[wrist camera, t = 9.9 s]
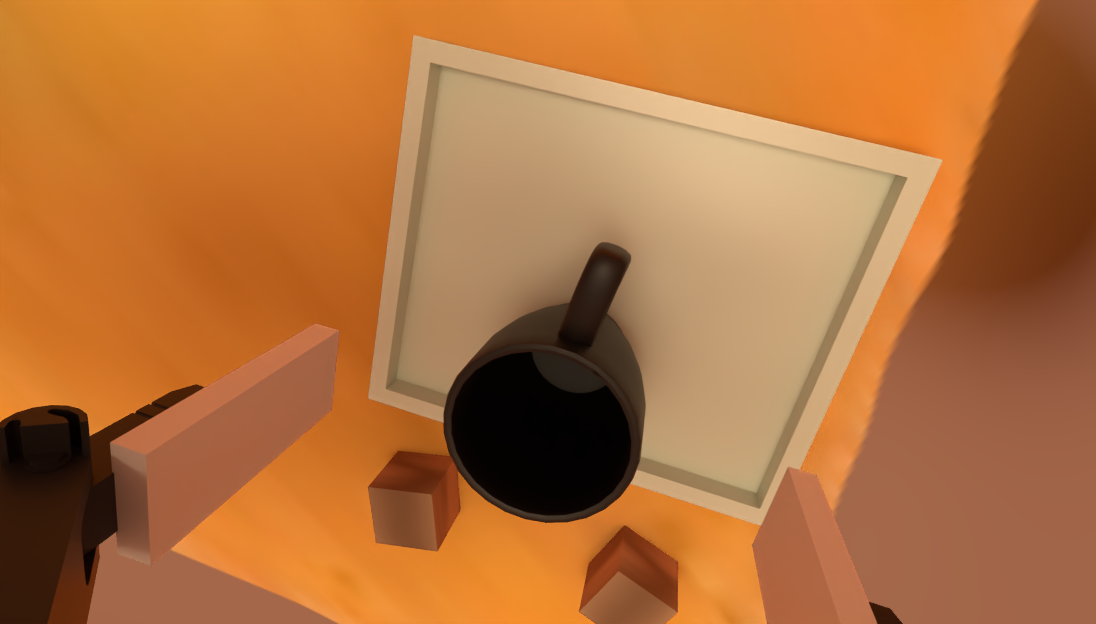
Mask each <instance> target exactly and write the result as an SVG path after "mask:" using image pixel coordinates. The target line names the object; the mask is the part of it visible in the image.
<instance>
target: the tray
mask: <svg viewBox="0 0 1096 624" xmlns="http://www.w3.org/2000/svg"><path fill="white" fill-rule="evenodd" d="M942 161H943V160H942V159H938V158H933V157H929V156H925V155H921V154H916V153H912V152H908V151H904V150H899V149H895V148H891V147H887V146H882V145H878V144H874V143H870V142H865V141H861V140H857V139H853V138H848V137H844V136H840V135H836V134H832V133H827V132H823V131H819V130H815V129H810V128H806V127H802V126H798V125H793V124H789V123H785V122H781V121H776V120H772V119H768V118H764V117H759V116H755V115H751V114H747V113H742V112H738V111H734V110H730V109H725V108H721V107H717V106H713V105H708V104H704V103H700V102H696V101H691V100H687V99H683V98H679V97H674V96H670V95H666V94H662V93H657V92H653V91H649V90H645V89H640V88H636V87H632V86H628V85H623V84H619V83H615V82H611V81H607V80H602V79H598V78H594V77H590V76H585V75H581V74H577V73H573V72H568V71H564V70H560V69H556V68H551V67H547V66H543V65H539V64H534V63H530V62H526V61H522V60H517V59H513V58H509V57H505V56H500V55H496V54H492V53H488V52H483V51H479V50H475V49H471V48H466V47H462V46H458V45H454V44H449V43H445V42H441V41H437V40H432V39H428V38H424V37H420V36H415V35H414V36H413V44H412V52H411V60H410V68H409V76H408V84H407V92H406V100H405V108H404V116H403V124H402V132H401V140H400V148H399V156H398V164H397V172H396V179H395V187H394V195H393V203H392V211H391V219H390V227H389V235H388V243H387V251H386V259H385V267H384V275H383V283H382V291H381V299H380V307H379V315H378V323H377V331H376V339H375V347H374V355H373V363H372V371H371V379H370V387H369V395H368V399H371V400H374V401H377V402H380V403H383V404H386V405H389V406H393V407H396V408H399V409H402V410H405V411H408V412H411V413H414V414H417V415H420V416H423V417H426V418H430V419H433V420H436V421H439V422H442V423H444V420H443V413H444V408H445V403H446V399H447V394H448V392H449V390H450V388H451V386H452V384H453V382H454V380H455V378H456V376H457V375H458V374H459V373H460V372H461V370H462V369H463V368H464V367H465V366H466V365H467V363H468V362H469V361H470V360H471V359H472V358H473V357H474V355H475V354H476V353H477V352H478V351H479V350H480V349H481V348H482V347H483V346H484V344H485V343H486V342H487V341H488V340H489V339H490V338H491V337H492V336H493V335H494V334H495V333H497V332H498V331H500V330H501V329H502V328H504V327H505V326H507V325H508V324H510V323H511V322H513V321H514V320H516V319H518V318H520V317H522V316H524V315H526V314H528V313H531V312H534V311H537V310H540V309H542V308H545V307H549V306H556V305H560V304H565V303H570V300H571V298H572V295H573V293H574V291H575V288H576V286H577V284H578V281H579V279H580V277H581V274H582V272H583V270H584V268H585V265H586V263H587V261H588V259H589V257H590V255H591V253H592V252H593V250H594V248H595V247H596V246H597V245H598V244H599V243H601V242H609V243H612V244H615V245H618V246H620V247H622V248H623V249H625V250H626V251H627V252H628V253H629V254H630V255H631V262H630V265H629V267H628V269H627V271H626V273H625V275H624V277H623V279H622V282H621V284H620V286H619V288H618V290H617V292H616V294H615V297H614V299H613V301H612V303H611V305H610V308H609V310H608V312H607V314H608V315H609V316H610V317H611V318H612V319H613V320H614V321H615V322H616V323H617V325H618V326H619V327H620V329H621V330H622V333H623V335H624V336H625V337H626V339H627V340H628V342H629V343H630V345H631V348H632V350H633V352H634V355H635V357H636V360H637V362H638V364H639V367H640V371H641V374H642V380H643V387H644V394H645V402H646V409H645V421H644V431H643V440H642V449H641V458H640V463H639V465H638V468H637V470H636V473H635V476H634V478H633V480H632V481H631V483H630V484H633V485H636V486H639V487H642V488H645V489H648V490H652V491H655V492H658V493H661V494H664V495H667V496H670V497H673V498H676V499H679V500H682V501H686V502H689V503H692V504H695V505H698V506H701V507H704V508H707V509H710V510H713V511H716V512H719V513H723V514H726V515H729V516H732V517H735V518H738V519H741V520H744V521H747V522H750V523H753V524H756V525H760V526H761V525H762V523H763V520H764V518H765V516H766V514H767V512H768V509H769V507H770V505H771V503H772V501H773V498H774V496H775V494H776V492H777V490H778V487H779V485H780V483H781V481H782V479H783V476H784V474H785V472H786V470H787V468H788V467H791V468H794V469H798V470H800V468H801V465H802V463H803V461H804V459H805V457H806V455H807V452H808V450H809V448H810V446H811V444H812V442H813V440H814V437H815V435H816V433H817V431H818V429H819V427H820V424H821V422H822V420H823V418H824V416H825V414H826V411H827V409H828V407H829V405H830V403H831V401H832V398H833V396H834V394H835V392H836V390H837V388H838V385H839V383H840V381H841V379H842V377H843V375H844V372H845V370H846V368H847V366H848V364H849V362H850V359H851V357H852V355H853V353H854V351H855V349H856V347H857V344H858V342H859V340H860V338H861V336H862V334H863V331H864V329H865V327H866V325H867V323H868V321H869V318H870V316H871V314H872V312H873V310H874V308H875V305H876V303H877V301H878V299H879V297H880V295H881V292H882V290H883V288H884V286H885V284H886V282H887V279H888V277H889V275H890V273H891V271H892V269H893V267H894V264H895V262H896V260H897V258H898V256H899V254H900V251H901V249H902V247H903V245H904V243H905V241H906V238H907V236H908V234H909V232H910V230H911V228H912V225H913V223H914V221H915V219H916V217H917V215H918V212H919V210H920V208H921V206H922V204H923V202H924V199H925V197H926V195H927V193H928V191H929V189H930V187H931V184H932V182H933V180H934V178H935V176H936V174H937V171H938V169H939V167H940V165H941V163H942Z"/></svg>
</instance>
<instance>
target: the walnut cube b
mask: <svg viewBox="0 0 1096 624" xmlns="http://www.w3.org/2000/svg"><path fill="white" fill-rule="evenodd" d="M579 612H580V613H581V614H583V615H584V616H586V617H587V618H588V619H590V620H591V621H593V622H594V623H596V624H666V623H667V622H668V621H669V620H670V619H671V618H672V617H673V616H674V615H675V614H676V613H678V562H677V561H676V560H674V559H673V558H671V557H670V556H668V555H667V554H665V553H664V552H663V551H661V550H660V549H658V548H657V547H655V546H654V545H652V544H651V543H650V542H648V541H647V540H645V539H644V538H642V537H641V536H639V535H638V534H637V533H635V532H634V531H632V530H631V529H629V528H628V527H627V526H624V527H623V528H622V529H621V530H620V531H619V532H618V533H617V534H616V535H615V536H614V537H613V538H612V539H611V541H610V542H609V543H608V544H607V545H606V546H605V547H604V548H603V549H602V550H601V551H600V552H599V553H598V554H597V555H596V557H595V558H594V559H593V560H592V561H591V562H590V563H589V565H588V570H587V575H586V580H585V585H584V590H583V595H582V600H581V604H580V609H579Z"/></svg>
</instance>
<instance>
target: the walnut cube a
mask: <svg viewBox="0 0 1096 624" xmlns="http://www.w3.org/2000/svg"><path fill="white" fill-rule="evenodd" d="M368 490H369V497H370V504H371V511H372V518H373V525H374V532H375V539H376V543H381V544H388V545H395V546H402V547H409V548H417V549H424V550H431V551H438V549H439V548H440V546H441V544H442V542H443V540H444V539H445V537H446V535H447V533H448V531H449V530H450V528H451V526H452V524H453V522H454V521H455V519H456V517H457V515H458V513H459V512H460V498H459V486H458V474H457V468H456V466H455V464H454V462H453V460H452V458H451V457H450V456H440V455H430V454H421V453H411V452H401V451H398V452H397V453H396V454H395V456H394V457H393V458H392V459H391V460H390V462H389V463H388V464H387V465H386V466H385V468H384V469H383V470H382V471H381V472H380V473H379V475H378V476H377V477H376V478H375V479H374V481H373V482H372V483H371V484H370V485H369V487H368Z"/></svg>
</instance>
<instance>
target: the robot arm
mask: <svg viewBox="0 0 1096 624" xmlns="http://www.w3.org/2000/svg"><path fill="white" fill-rule="evenodd" d="M338 339H339V330H336V329H333V328H330V327H326V326H323V325H320V324H317V323H315V324H313V325H312V326H310V327H308V328H306V329H305V330H303V331H301V332H300V333H298V334H296V335H294V336H293V337H291V338H289V339H287V340H286V341H284V342H282V343H281V344H279V345H277V346H275V347H274V348H272V349H270V350H268V351H267V352H265V353H263V354H262V355H260V356H258V357H256V358H255V359H253V360H251V361H250V362H248V363H246V364H244V365H243V366H241V367H239V368H237V369H236V370H234V371H232V372H231V373H229V374H227V375H225V376H224V377H222V378H220V379H219V380H217V381H215V382H213V383H212V384H210V385H208V386H206V387H202V386H199V385H193V386H189V387H186V388H182V389H178V390H175V391H172V392H170V393H168V394H166V395H164V396H162V397H161V398H159V399H157V400H155V401H153V402H152V404H151V405H149V404H148V405H146V406H144V407H142V408H141V409H139V410H137V411H136V413H135V414H134V413H132V414H130V415H128V416H126V417H124V418H122V419H121V420H119V421H117V422H115V423H113V424H112V425H110V426H108V427H106V428H104V429H102V430H101V431H99V432H97V433H95V434H93V435H91V436H90V437H89V425H88V417H87V414H86V413H85V412H83V411H82V410H81V409H79V408H74V407H70V406H60V405H49V406H42V407H35V408H31V409H27V410H24V411H21V412H17V413H15V414H13V415H11V416H9V417H7V418H6V419H4V420H2V421H1V422H0V624H86V623H87V618H88V613H89V609H90V603H91V598H92V593H93V588H94V583H95V578H96V573H97V568H98V563H99V558H100V556H99V544H100V543H102V542H103V541H104V540H106V539H107V538H109V537H110V536H111V535H113V534H114V533H115V532H116V536H117V550H118V554H119V555H122V556H124V557H127V558H130V559H133V560H135V561H138V562H141V563H143V564H146V565H149V566H151V565H153V564H154V563H155V562H156V561H157V560H158V559H160V558H161V557H162V556H163V555H164V554H165V553H166V552H168V551H169V550H170V549H171V548H172V547H173V546H175V545H176V544H177V543H178V542H179V541H180V540H182V539H183V538H184V537H185V536H186V535H187V534H189V533H190V532H191V531H192V530H193V529H194V528H195V527H197V526H198V525H199V524H200V523H201V522H202V521H204V520H205V519H206V518H207V517H208V516H209V515H211V514H212V513H213V512H214V511H215V510H216V509H217V508H219V507H220V506H221V505H222V504H223V503H224V502H226V501H227V500H228V499H229V498H230V497H231V496H233V495H234V494H235V493H236V492H237V491H238V490H239V489H241V488H242V487H243V486H244V485H245V484H246V483H248V482H249V481H250V480H251V479H252V478H253V477H255V476H256V475H257V474H258V473H259V472H260V471H261V470H263V469H264V468H265V467H266V466H267V465H268V464H270V463H271V462H272V461H273V460H274V459H275V458H277V457H278V456H279V455H280V454H281V453H282V452H283V451H285V450H286V449H287V448H288V447H289V446H290V445H292V444H293V443H294V442H295V441H296V440H297V439H299V438H300V437H301V436H302V435H303V434H304V433H305V432H307V431H308V430H309V429H310V428H311V427H312V426H314V425H315V424H316V423H317V422H318V421H319V420H321V419H322V418H323V417H324V416H325V415H326V414H327V413H329V412H330V411H331V410H332V400H333V390H334V380H335V370H336V359H337V349H338ZM752 546H753V552H754V557H755V562H756V567H757V573H758V578H759V583H760V588H761V594H762V599H763V604H764V609H765V615H766V620H767V624H902V622H901V621H900V620H899V619H898V618H897V616H896V615H895V614H894V613H893V611H892V610H891V609H890V608H886V607H883V606H880V605H877V604H874V603H871V602H868V600H867V597H866V595H865V592H864V590H863V587H862V585H861V582H860V580H859V577H858V575H857V573H856V570H855V568H854V565H853V563H852V561H851V558H850V555H849V553H848V551H847V548H846V546H845V543H844V541H843V538H842V536H841V533H840V531H839V528H838V526H837V524H836V521H835V519H834V516H833V514H832V511H831V509H830V506H829V504H828V501H827V499H826V497H825V494H824V492H823V489H822V487H821V484H820V482H819V479H818V477H817V475H814V474H811V473H808V472H804V471H801V470H798V469H794V468H791V467H788V468H787V470H786V472H785V474H784V476H783V479H782V481H781V483H780V485H779V487H778V490H777V492H776V494H775V496H774V498H773V501H772V503H771V505H770V507H769V509H768V512H767V514H766V516H765V518H764V520H763V523H762V525H761V527H760V529H759V531H758V534H757V536H756V538H755V540H754V542H753V545H752Z"/></svg>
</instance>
